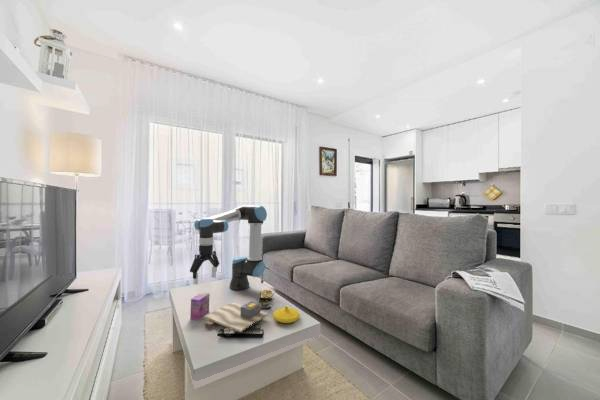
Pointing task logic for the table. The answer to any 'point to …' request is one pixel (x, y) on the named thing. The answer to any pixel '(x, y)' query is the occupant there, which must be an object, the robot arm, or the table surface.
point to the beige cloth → (231, 318)
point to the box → (199, 306)
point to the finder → (250, 310)
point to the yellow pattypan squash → (286, 315)
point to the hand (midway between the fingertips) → (205, 280)
